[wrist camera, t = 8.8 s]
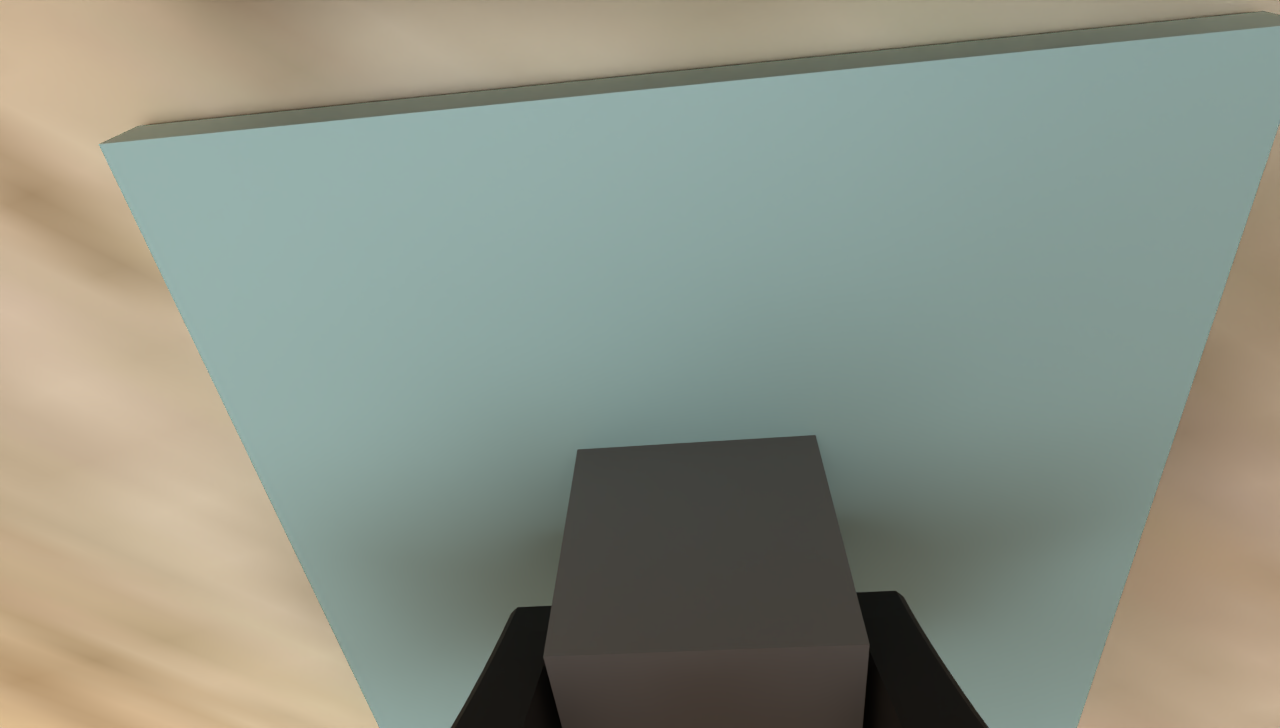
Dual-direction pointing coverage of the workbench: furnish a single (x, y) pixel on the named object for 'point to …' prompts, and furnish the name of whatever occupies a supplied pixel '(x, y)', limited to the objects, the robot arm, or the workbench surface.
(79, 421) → the workbench surface
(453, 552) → the teal lid
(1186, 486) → the workbench surface
